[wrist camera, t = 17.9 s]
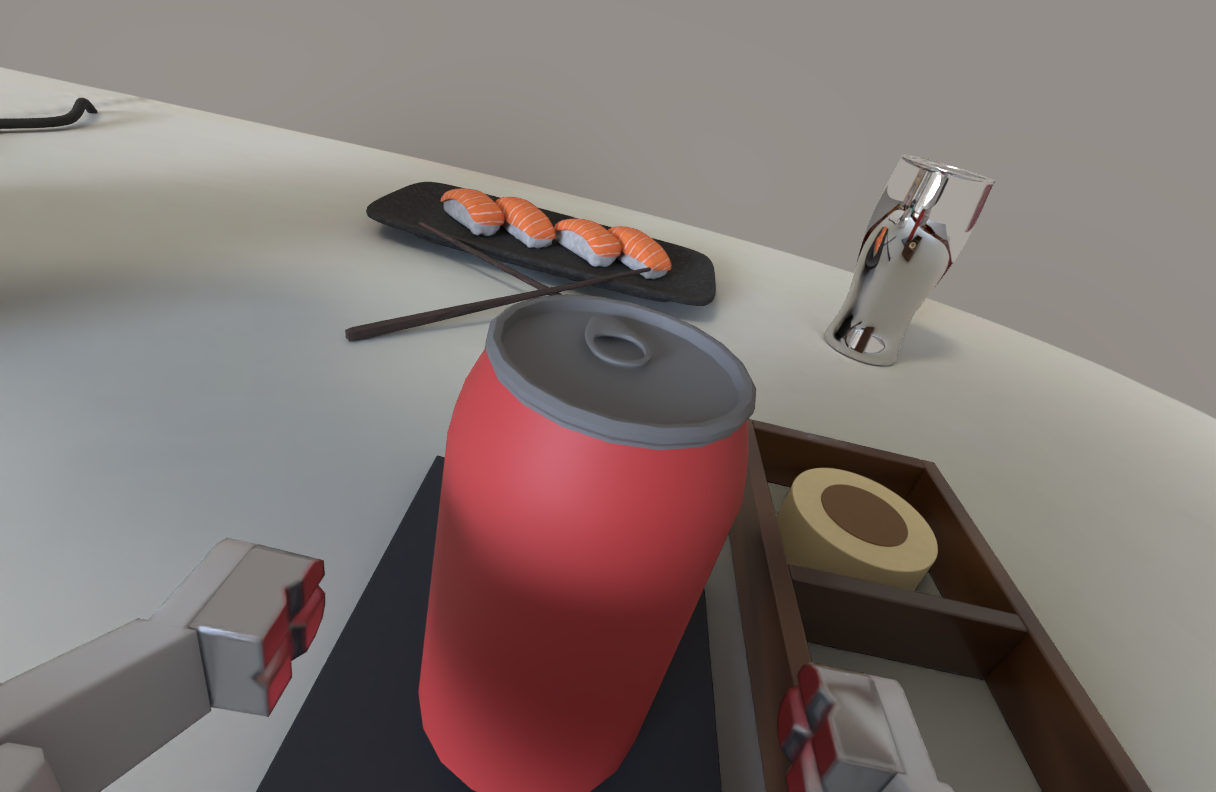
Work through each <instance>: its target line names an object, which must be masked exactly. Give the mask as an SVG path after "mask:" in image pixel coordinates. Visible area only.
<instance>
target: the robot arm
mask: <svg viewBox="0 0 1216 792" xmlns="http://www.w3.org/2000/svg"><path fill="white" fill-rule="evenodd" d="M85 109H86V110H87V112H89V113H97V110H96V109H95V107H94V106H93V105H92V104H91V103H90V101H88V100H87V99H85V98H78V99H77V100H76V102H75V104H74V106H73V108H72V110H71V111H70V112H69V113H67V114H66V115H62V116H57V117H48V118H21V119H0V129H16V128H46V127H58V126H64V125H69V124H72V123H74V122H76V121H77V120H78V119H79V118H80V117H81V116H82V114H83V112H84V110H85ZM324 575H325V571H324V560H321V559H317V558H313V557H309V556H305V555H301V554H296V553H292V552H288V551H284V550H280V549H276V548H271V547H267V546H263V545H259V544H254V543H250V542H245V541H241V540H236V539H232V538H226V539H224V540H222V541H221V542H219V543H217V544H216V545H215V546H214V547H213V548H212V549H211V550H210V551H209V553H208V554H207V555H206V556H205V557H204V558H203V559H202V560H201V561H200V563H199V564H198V565H197V566H196V567H195V568H194V569H193V570H192V572H191V573H190V574H189V575H188V576H187V577H186V578H185V579H184V581H183V582H182V583H181V584H180V585H179V586H178V587H177V588H176V590H175V591H174V592H173V593H172V594H171V595H170V596H169V597H168V598H167V600H166V601H165V602H164V603H163V604H162V605H161V606H160V607H159V609H158V610H157V611H156V612H155V613H154V614H153V615H152V616H151V618H150V619H149V620H145V619H139V618H138V619H136V620H134V621H131V622H129V623H127V624H125V625H123V626H121V627H119V628H117V629H115V630H113V631H110V632H108V633H106V634H104V635H102V636H100V637H98V638H96V639H94V640H92V641H90V642H87V643H85V644H83V645H81V646H79V647H77V648H75V649H73V650H71V651H69V652H66V653H64V654H62V655H60V656H58V657H56V658H54V659H52V660H50V661H48V662H46V663H43V664H41V665H39V666H37V667H35V668H33V669H31V670H29V671H27V672H25V673H22V674H20V675H18V676H16V677H14V678H12V679H10V680H8V681H6V682H4V683H2V684H0V792H100V791H102V790H103V789H104V788H106V787H107V786H109V785H110V784H111V783H113V782H114V781H115V780H117V779H118V778H120V777H121V776H122V775H124V774H125V773H126V772H128V771H129V770H131V769H132V768H133V767H135V766H136V765H137V764H139V763H140V762H142V761H143V760H144V759H146V758H147V757H148V756H150V755H151V754H153V753H154V752H155V751H157V750H158V749H159V748H161V747H162V746H163V745H165V744H166V743H168V742H169V741H170V740H172V739H173V738H174V737H176V736H177V735H179V734H180V733H181V732H183V731H184V730H185V729H187V728H188V727H190V726H191V725H192V724H194V723H195V722H196V721H198V720H199V719H201V718H202V717H203V716H205V715H206V714H207V713H209V712H210V711H211V707H213V708H219V709H225V710H231V711H237V712H243V713H249V714H255V715H261V716H267V717H269V715H270V714H271V712H272V710H273V709H274V707H275V705H276V703H277V702H278V700H279V698H280V697H281V695H282V693H283V692H284V690H285V688H286V686H287V685H288V683H289V681H290V680H291V678H292V667H291V661H292V660H294V659H295V658H297V657H299V656H300V655H302V654H304V653H305V652H307V650H308V648H309V647H310V645H311V643H312V641H313V639H314V638H315V636H316V633H317V631H318V628H319V626H320V623H321V620H322V618H323V613H324V607H325V593H324V591H323V590H322V589H321V588H320V587H319V583H320V581H321V580H322V578H323V577H324ZM797 677H798V682H799V685H797V686H795V687H793V688H791V689H788V690H787V691H786V693H785V695H784V696H783V698H782V700H781V702H780V706H779V711H778V717H777V733H778V740H779V746H780V749H781V750H782V752H783V753H784V755H785V756H786V757H787V759H788V760H789V761H790V763H791V766H790V768H789V769H788V771H787V773H786V775H785V780H786V786H787V791H788V792H955V791H954V790H953V789H952V788H951V786H950V785H949V784H947V783H943V782H939V780H938V777H937V775H936V772H935V770H934V767H933V764H932V762H931V759H930V757H929V754H928V752H927V749H926V747H925V744H924V741H923V739H922V736H921V734H920V731H919V729H918V726H917V724H916V721H915V718H914V716H913V713H912V711H911V708H910V706H909V703H908V700H907V698H906V695H905V693H904V690H903V688H902V686H901V685H900V684H899V683H898V682H897V680H893V679H888V678H883V677H879V676H874V675H869V674H864V673H863V672H858V671H853V670H848V669H843V668H837V667H832V666H827V665H822V664H817V663H812V662H808V663H806V664H804V665H803V666H802V667H801V669H800V670H799V672H798V673H797Z"/></svg>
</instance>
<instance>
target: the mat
mask: <svg viewBox="0 0 1216 792" xmlns="http://www.w3.org/2000/svg"><path fill="white" fill-rule="evenodd" d="M444 461H445V457H441V456H437V457H436V458H435V460H434V462H433V464H432V466H431V468H430V469H429V471H428V473H427V475H426V477H425V479H424V481H423V482H422V484H421V486H420V488H419V490H418V492H417V494H416V495H415V497H414V499H413V501H412V503H411V505H410V507H409V508H408V510H407V512H406V514H405V516H404V518H403V520H402V521H401V523H400V525H399V527H398V529H397V531H396V533H395V535H394V536H393V538H392V540H391V542H390V544H389V546H388V548H387V549H386V551H385V553H384V555H383V557H382V559H381V561H380V562H379V564H378V566H377V568H376V570H375V572H374V574H373V575H372V577H371V579H370V581H369V583H368V585H367V587H366V588H365V590H364V592H363V594H362V596H361V598H360V600H359V601H358V603H357V605H356V607H355V609H354V611H353V613H352V614H351V616H350V618H349V620H348V622H347V624H346V626H345V627H344V629H343V631H342V633H341V635H340V637H339V639H338V640H337V642H336V644H335V646H334V648H333V650H332V652H331V653H330V655H329V657H328V659H327V661H326V663H325V665H324V666H323V668H322V670H321V672H320V674H319V676H318V678H317V679H316V681H315V683H314V685H313V687H312V689H311V691H310V692H309V694H308V696H307V698H306V700H305V702H304V704H303V705H302V707H301V709H300V711H299V713H298V715H297V717H296V718H295V720H294V722H293V724H292V726H291V728H290V730H289V731H288V733H287V735H286V737H285V739H284V741H283V743H282V744H281V746H280V748H279V750H278V752H277V754H276V756H275V758H274V759H273V761H272V763H271V765H270V767H269V769H268V771H267V772H266V774H265V776H264V778H263V780H262V782H261V784H260V785H259V787H258V789H257V791H256V792H477V791H474V790H472V789H470V788H469V787H468V786H467V785H466V784H465V783H464V782H463V781H462V780H461V779H459V778H458V777H457V776H456V775H455V774H454V773H453V772H452V771H451V770H450V769H448V768H447V767H446V766H445V765H444V764H443V763H442V762H441V761H440V759H439V757H438V755H437V753H436V751H435V750H434V748H433V746H432V744H431V742H430V740H429V738H428V736H427V734H426V732H425V731H424V729H423V723H422V715H421V708H420V701H419V693H418V692H419V683H420V674H421V665H422V656H423V647H424V639H425V630H426V621H427V612H428V603H429V594H430V585H431V576H432V567H433V559H434V550H435V541H436V532H437V523H438V514H439V505H440V496H441V487H442V479H443V470H444ZM590 792H722V790H721V778H720V766H719V754H718V743H717V731H716V719H715V707H714V696H713V684H712V672H711V660H710V649H709V637H708V625H707V613H706V602H705V590H704V589H703V591H702V594H701V596H700V598H699V600H698V602H697V605H696V607H695V609H694V611H693V614H692V616H691V618H690V620H689V622H688V625H687V627H686V629H685V631H684V633H683V636H682V638H681V640H680V642H679V645H678V647H677V649H676V651H675V653H674V656H673V658H672V660H671V662H670V665H669V667H668V669H667V671H666V673H665V676H664V678H663V680H662V682H661V685H660V687H659V689H658V691H657V693H656V696H655V698H654V700H653V702H652V705H651V707H650V709H649V711H648V713H647V716H646V718H645V720H644V722H643V725H642V727H641V729H640V731H639V733H638V736H637V738H636V740H635V742H634V744H633V745H632V747H631V748H630V750H629V752H628V753H627V755H626V757H625V758H624V760H623V761H622V763H621V765H620V766H619V768H618V769H617V771H616V772H615V773H613V774H612V775H611V776H610V777H608V778H607V779H606V780H604V781H603V782H602V783H601V784H599V785H598V786H597V787H595V788H594V789H593V790H592V791H590Z"/></svg>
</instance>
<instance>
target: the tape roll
mask: <svg viewBox="0 0 1216 792" xmlns="http://www.w3.org/2000/svg"><path fill="white" fill-rule="evenodd" d="M776 520H777V524H778V528H779V532H780V536H781V540H782V544H783V548H784V552H785V556H786V560H787V564H794V565H798V566H803V567H807V568H812V569H816V570H821V571H825V572H830V573H834V574H838V575H843V576H847V577H852V578H856V579H861V580H865V581H870V582H874V583H879V584H883V585H888V586H892V587H897V588H901V589H906V590H910V591H914V590H915V589H916V587H917V586H918V584H919V583H920V582H921V580H922V579H923V577H924V576H925V575H926V573H927V572H928V570H929V569H930V567H931V566H932V565H933V563H934V562H935V560H936V558H937V554H938V545H937V541H936V538H935V535H934V533H933V531H932V530H931V528H930V526H929V525H928V523H927V522H926V521H925V519H924V518H923V517H922V516H921V515H920V514H919V513H918V512H917V511H916V510H915V509H914V508H913V507H912V506H911V505H910V504H909V503H907V502H906V501H905V500H904V499H902V498H901V497H900V496H898V495H897V494H895V493H894V492H892V491H891V490H889V489H887V488H886V487H884V486H882V485H880V484H879V483H877V482H875V481H873V480H870V479H868V478H866V477H863V476H861V475H858V474H855V473H852V472H848V471H844V470H840V469H833V468H815V469H810V470H807V471H805V472H803V473H801V474H800V475H799V476H797V477H796V479H795V480H794V482H793V484H792V486H791V488H790V490H789V492H788V494H787V496H786V498H785V500H784V502H783V504H782V506H781V508H780V510H779V512H778V514H777V516H776Z"/></svg>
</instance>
